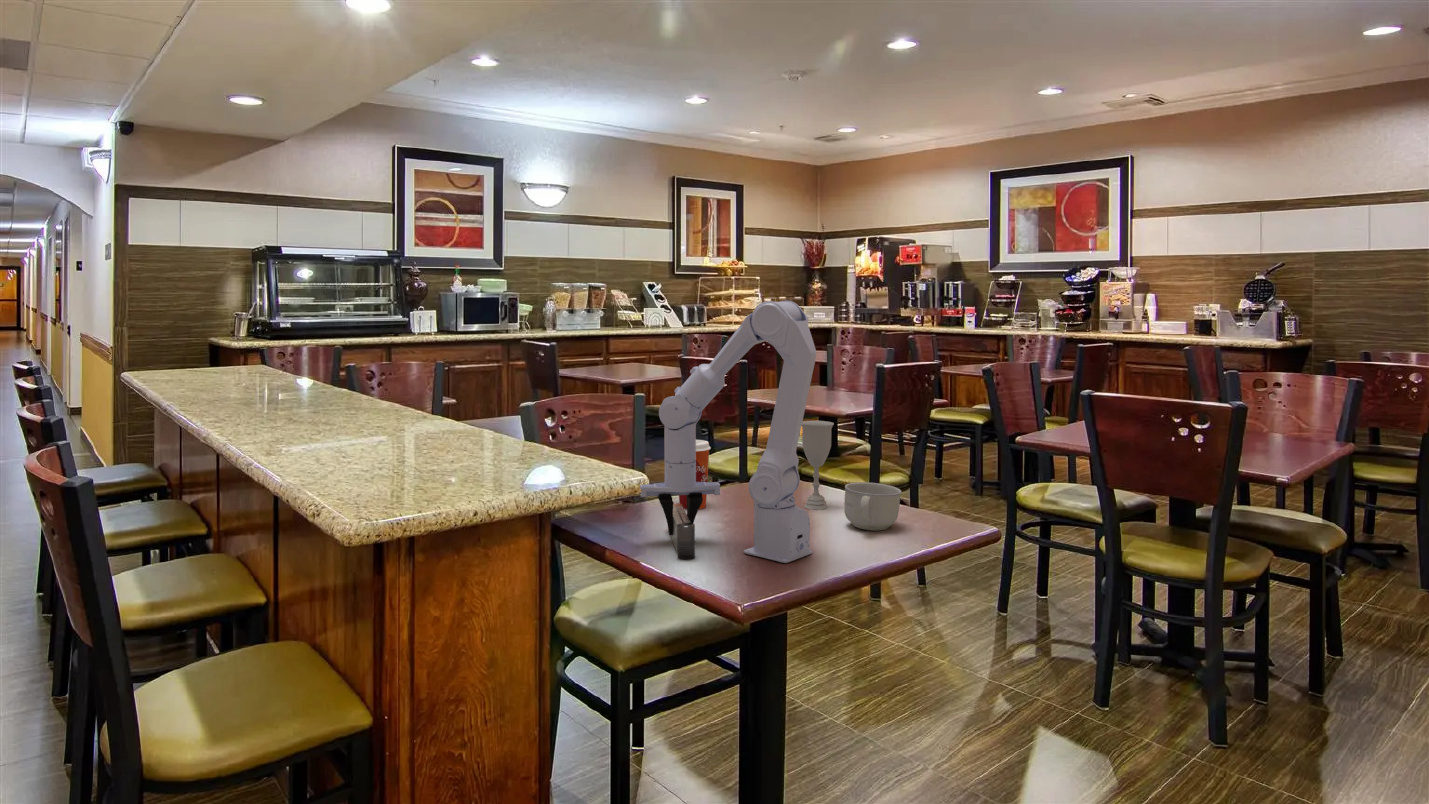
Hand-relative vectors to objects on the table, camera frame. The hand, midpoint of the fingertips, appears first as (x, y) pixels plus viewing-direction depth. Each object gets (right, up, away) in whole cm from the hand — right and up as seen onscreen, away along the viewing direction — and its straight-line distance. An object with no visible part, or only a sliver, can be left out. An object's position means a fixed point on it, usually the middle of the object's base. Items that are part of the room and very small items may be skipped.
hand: (680, 533), depth 167 cm
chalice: (+28, +2, +26) cm, 39 cm away
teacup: (+36, -1, +9) cm, 37 cm away
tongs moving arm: (-1, -1, +1) cm, 1 cm away
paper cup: (+2, +2, +27) cm, 27 cm away
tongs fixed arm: (0, -2, -1) cm, 2 cm away
